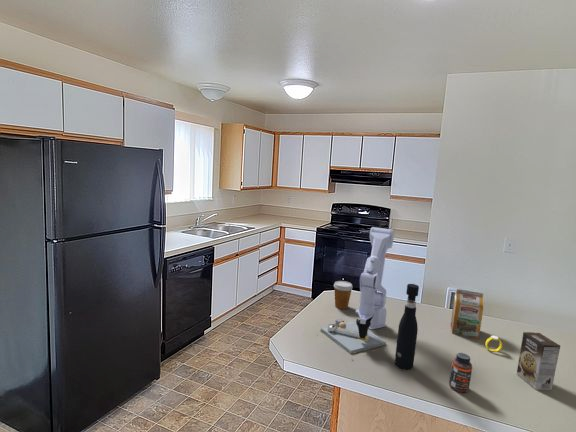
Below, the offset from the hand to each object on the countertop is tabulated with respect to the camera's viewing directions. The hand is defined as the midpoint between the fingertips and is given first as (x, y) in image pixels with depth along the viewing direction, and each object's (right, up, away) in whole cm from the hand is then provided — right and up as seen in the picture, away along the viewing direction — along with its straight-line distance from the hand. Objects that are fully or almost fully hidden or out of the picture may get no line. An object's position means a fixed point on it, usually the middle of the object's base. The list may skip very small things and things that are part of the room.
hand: (363, 333), depth 142 cm
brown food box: (+54, -10, -21) cm, 59 cm away
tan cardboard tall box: (+48, -4, +15) cm, 51 cm away
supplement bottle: (+25, -9, -27) cm, 38 cm away
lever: (-6, -1, +2) cm, 7 cm away
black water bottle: (+11, -6, -16) cm, 20 cm away
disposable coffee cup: (-4, +2, +35) cm, 35 cm away
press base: (-4, -2, +3) cm, 6 cm away
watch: (+52, -7, -1) cm, 52 cm away
